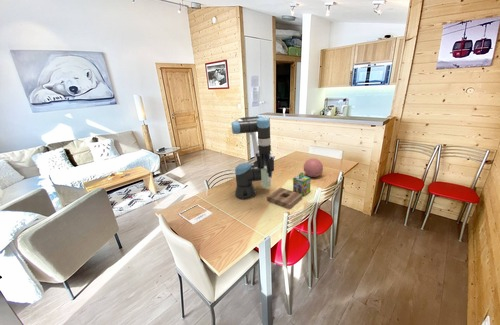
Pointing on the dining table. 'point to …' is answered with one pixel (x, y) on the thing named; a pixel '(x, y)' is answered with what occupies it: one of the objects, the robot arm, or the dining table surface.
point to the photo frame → (199, 217)
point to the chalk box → (301, 184)
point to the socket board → (286, 202)
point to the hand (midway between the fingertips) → (266, 180)
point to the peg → (265, 178)
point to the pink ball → (313, 167)
